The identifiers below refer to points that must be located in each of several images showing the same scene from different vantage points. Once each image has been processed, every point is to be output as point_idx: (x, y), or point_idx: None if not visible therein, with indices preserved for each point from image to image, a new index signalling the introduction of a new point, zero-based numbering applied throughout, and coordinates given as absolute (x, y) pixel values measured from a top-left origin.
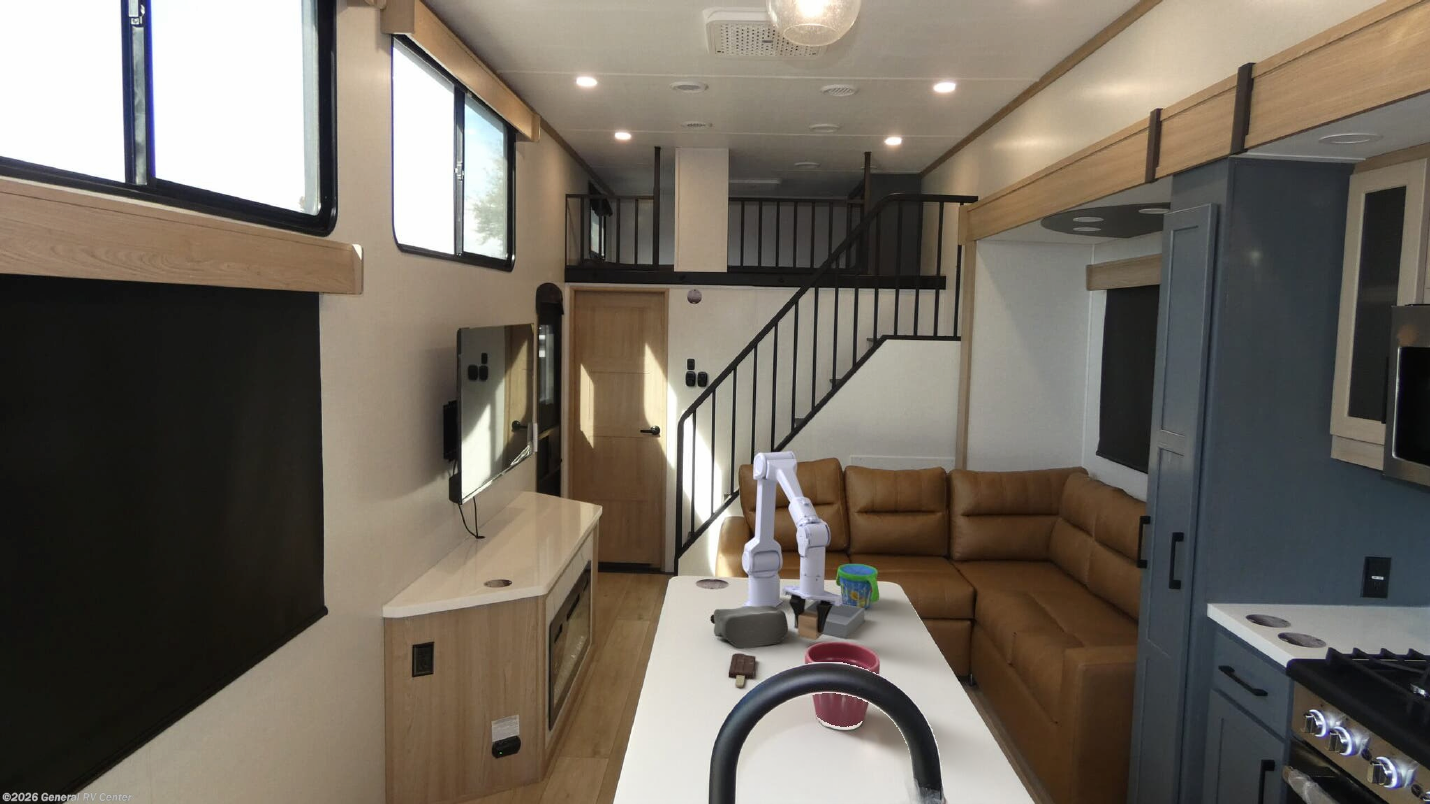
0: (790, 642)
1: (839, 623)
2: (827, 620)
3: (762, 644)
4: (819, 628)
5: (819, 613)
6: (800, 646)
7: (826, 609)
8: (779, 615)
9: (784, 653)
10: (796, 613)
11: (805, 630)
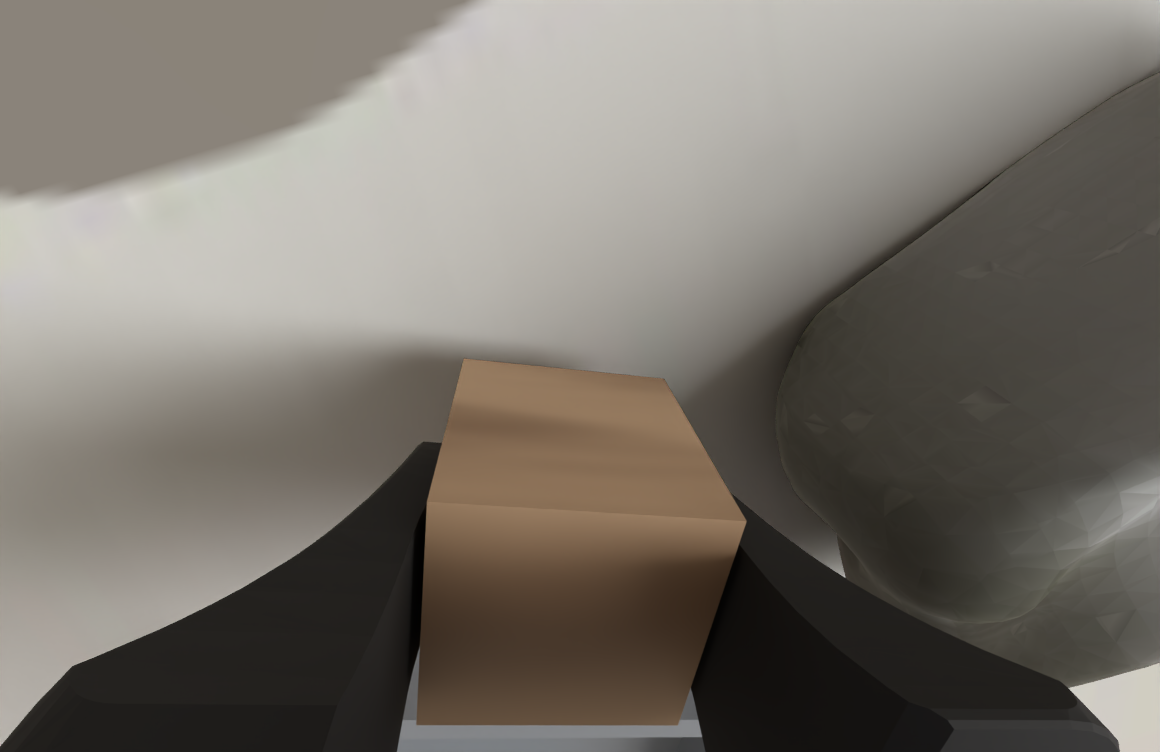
0: (715, 396)
1: None
2: (485, 730)
3: (952, 219)
4: (416, 460)
5: (335, 603)
6: (619, 356)
7: (31, 718)
8: (1000, 489)
9: (725, 141)
10: (790, 566)
11: (591, 407)
